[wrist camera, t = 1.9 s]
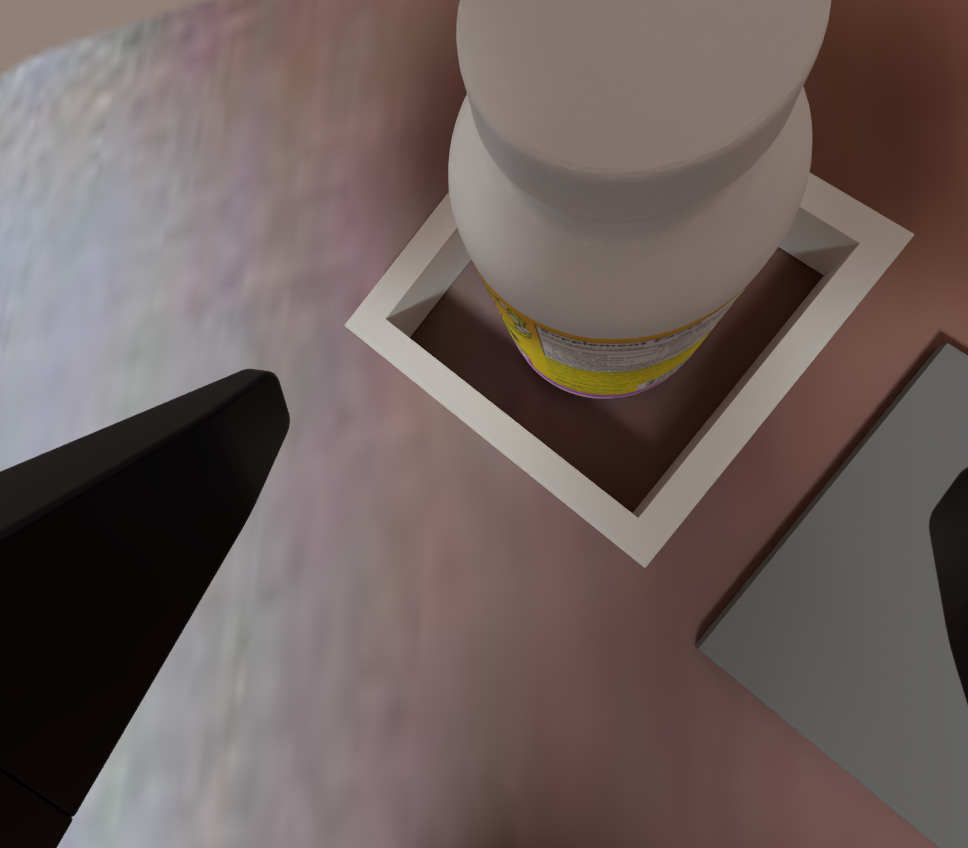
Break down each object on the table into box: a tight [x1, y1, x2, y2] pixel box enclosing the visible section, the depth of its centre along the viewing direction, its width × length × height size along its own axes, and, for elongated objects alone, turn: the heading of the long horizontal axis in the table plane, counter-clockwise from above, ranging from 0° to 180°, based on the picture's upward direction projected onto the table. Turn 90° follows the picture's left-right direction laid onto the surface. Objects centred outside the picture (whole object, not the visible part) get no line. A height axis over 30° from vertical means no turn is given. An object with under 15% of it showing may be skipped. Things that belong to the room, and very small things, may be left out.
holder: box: [345, 172, 915, 568], centre depth 18 cm, size 12×12×2 cm
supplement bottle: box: [448, 0, 831, 399], centre depth 13 cm, size 7×7×13 cm
